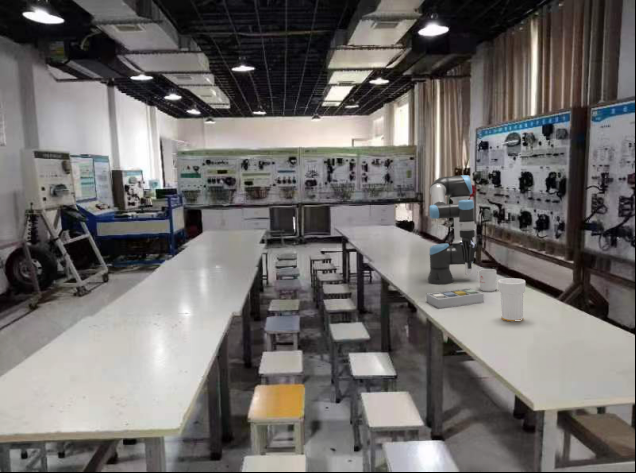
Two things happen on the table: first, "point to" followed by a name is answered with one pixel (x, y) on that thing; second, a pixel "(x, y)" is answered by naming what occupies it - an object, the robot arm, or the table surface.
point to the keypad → (454, 299)
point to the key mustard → (460, 293)
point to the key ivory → (438, 296)
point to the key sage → (470, 291)
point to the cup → (511, 298)
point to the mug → (487, 279)
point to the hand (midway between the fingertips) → (468, 274)
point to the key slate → (449, 294)
